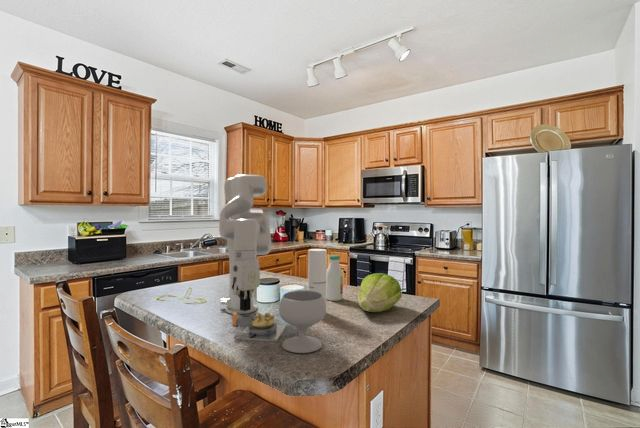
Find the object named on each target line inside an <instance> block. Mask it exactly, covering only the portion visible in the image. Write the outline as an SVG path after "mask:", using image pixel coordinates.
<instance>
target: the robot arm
mask: <svg viewBox="0 0 640 428" xmlns="http://www.w3.org/2000/svg"><path fill="white" fill-rule="evenodd" d="M223 188H224V190H223V191H224V196H225V199H226V202H227V203H226V204H225V205H224V206H223V208H222V209H221V211H220V213H219V223H218V224H219V225H218V227H219V228H218V231H219V235H220V237H221V238H222V239H224V240H227V250H228V256H229V257H228V259H229V285H228V286H229V287H228V289H229V295H228V297H229V298H228V297H227V298H221V299H220V300H219V303H220V305H222V306H223V305H226V306H225V313H228V314H231V315H232V314H233V313H239V315H245V314H250V313H254V312H255V311H257V309H258V305H257V304H256V303H254V291H256V290H257V288H259V287H260V285H261V273H260V272H261V271H260V263H259V259H258V258H257V257H258V256H261V255H263V256H264V255H268V254H269V253H270V252H271V250H272V237H271V236H272V235H271V229H270V223H269V217H268V216H267V214H266V213H264V212H253V211H252V212H251V208H253V206H254V203H255V202H254V197H262V196H264V195H265V194H266V192H267V188H268V185H267V180H266V178H265V176H264V175H261V174H243V173H242V174H241V173H240V174H236V175H235V176H233V177H229V178H227V179H226V180H225V182H224V187H223Z"/></svg>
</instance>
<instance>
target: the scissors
mask: <svg viewBox="0 0 640 428" xmlns="http://www.w3.org/2000/svg"><path fill="white" fill-rule="evenodd" d="M189 290H190V292H189ZM191 293H192V288H188V289H187V292H186V293H185V295H184V296H183V298H181V297H180V296H177V295H174V294H167V296H168V297H169V296H170V297H175V298H178V299H181V300H184V301H186V299H189V297H190V295H191ZM187 295H188V296H187ZM164 296H165V294H161V295H159V296H157V297H156V299H157V300H158V301H162V302H169V301H170V302H171V301H172V300H171V299H170V300H167V299H161V298H160V297H164ZM186 296H187V297H186ZM184 298H186V299H184ZM194 300H200V301H195V302H193V301H192V304H198V303H202V302H206V301H207V298H200V297H199V298H198V297H197V298H196V297H195V298H194ZM184 301H183V304H187V302H184Z"/></svg>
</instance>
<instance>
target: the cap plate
mask: <svg viewBox="0 0 640 428" xmlns="http://www.w3.org/2000/svg"><path fill="white" fill-rule="evenodd" d="M286 328H287V324H277V323H275V322H274V326H272V327H270V328H266V329H256V328H253V327H251V326H245V328H244V329H243V330H242V331H241V332H240V333H239V334H238V335H237V336H236V337H235V340H240V339H244V340H245V341H259V342H261V341H262V342H276V343H277V342H278V340H279V339H280V338H281V335H283V333H284V331H285V330H286Z"/></svg>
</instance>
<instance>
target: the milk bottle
mask: <svg viewBox="0 0 640 428" xmlns="http://www.w3.org/2000/svg"><path fill="white" fill-rule="evenodd" d="M343 278H344V277H343V270H342V267H341V266H340V255H339V254H334V255H333V254H331V255H329V264H328V267H327V268H326V301H327V300H328V301H332V302H334V301H335V302H337V301H341V300H343V298H344V297H343V293H344V292H343V291H344V289H343V285H344V283H343Z"/></svg>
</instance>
